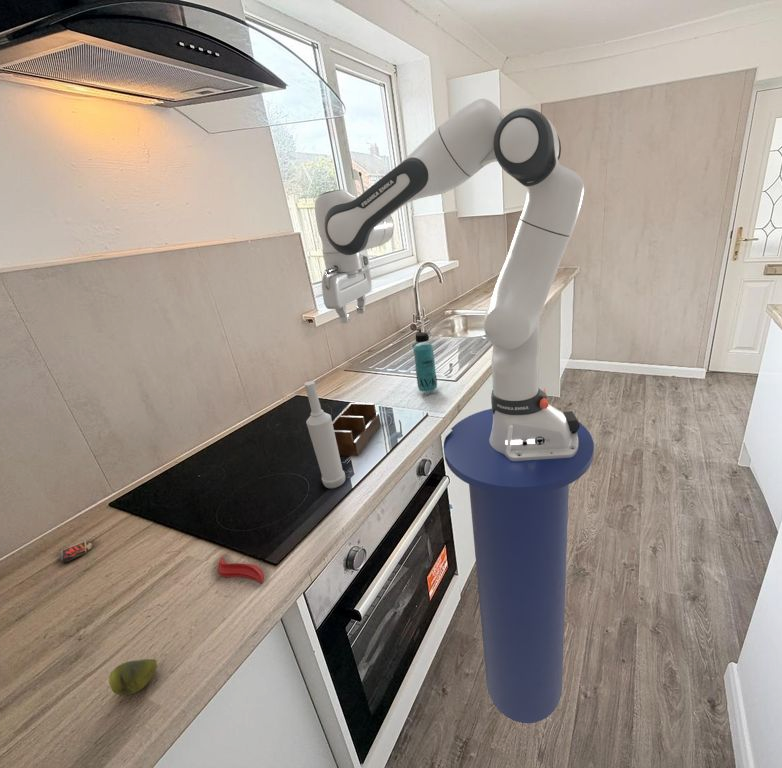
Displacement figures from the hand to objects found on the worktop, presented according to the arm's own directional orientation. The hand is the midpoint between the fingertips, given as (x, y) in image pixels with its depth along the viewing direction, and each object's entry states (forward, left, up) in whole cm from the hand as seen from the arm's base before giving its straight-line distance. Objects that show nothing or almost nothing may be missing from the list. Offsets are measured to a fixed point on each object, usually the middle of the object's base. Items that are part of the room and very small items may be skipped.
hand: (354, 317), depth 108 cm
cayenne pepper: (+3, +54, -31) cm, 62 cm away
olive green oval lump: (+4, +73, -31) cm, 79 cm away
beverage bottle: (-11, -20, -31) cm, 39 cm away
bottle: (-2, +28, -31) cm, 42 cm away
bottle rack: (+1, +10, -31) cm, 33 cm away
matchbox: (+40, +54, -31) cm, 74 cm away
